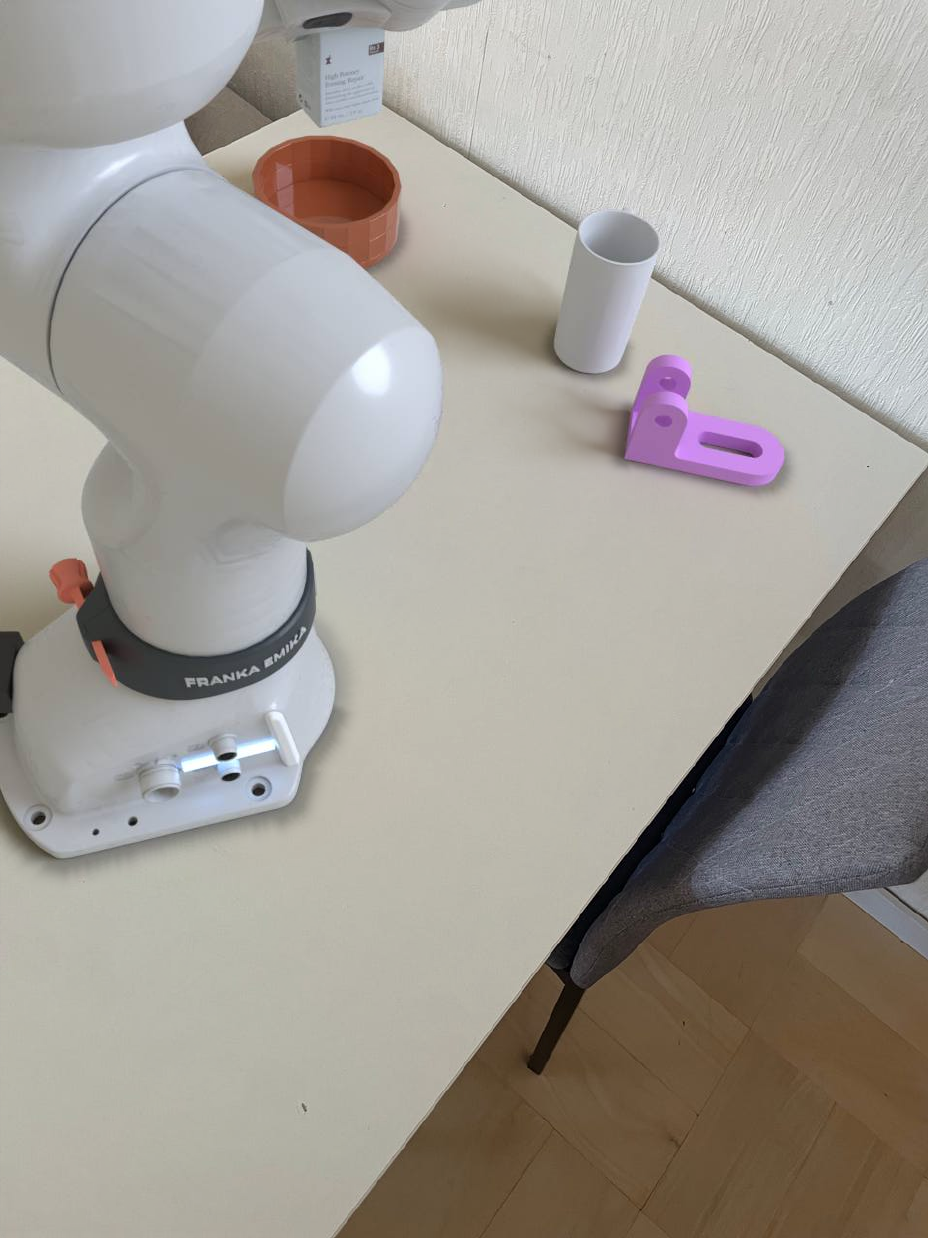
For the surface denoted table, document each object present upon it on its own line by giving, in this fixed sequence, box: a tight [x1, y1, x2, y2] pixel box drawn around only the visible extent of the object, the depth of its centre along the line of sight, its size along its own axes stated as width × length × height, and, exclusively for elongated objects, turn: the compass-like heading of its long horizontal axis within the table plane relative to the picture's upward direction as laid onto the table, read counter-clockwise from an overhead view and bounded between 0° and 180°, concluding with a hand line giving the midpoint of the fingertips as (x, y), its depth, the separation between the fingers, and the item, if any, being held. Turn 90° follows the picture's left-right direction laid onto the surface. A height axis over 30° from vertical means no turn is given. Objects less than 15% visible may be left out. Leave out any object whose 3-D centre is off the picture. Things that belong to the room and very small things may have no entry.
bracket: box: [624, 354, 786, 487], centre depth 83 cm, size 13×6×7 cm, turn 79°
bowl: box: [251, 135, 403, 270], centre depth 94 cm, size 13×13×5 cm
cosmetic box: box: [294, 27, 386, 129], centre depth 79 cm, size 6×4×12 cm
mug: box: [553, 206, 662, 375], centre depth 87 cm, size 10×7×12 cm, turn 164°
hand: (335, 22), depth 79 cm, fingers closed on cosmetic box, 6 cm apart
